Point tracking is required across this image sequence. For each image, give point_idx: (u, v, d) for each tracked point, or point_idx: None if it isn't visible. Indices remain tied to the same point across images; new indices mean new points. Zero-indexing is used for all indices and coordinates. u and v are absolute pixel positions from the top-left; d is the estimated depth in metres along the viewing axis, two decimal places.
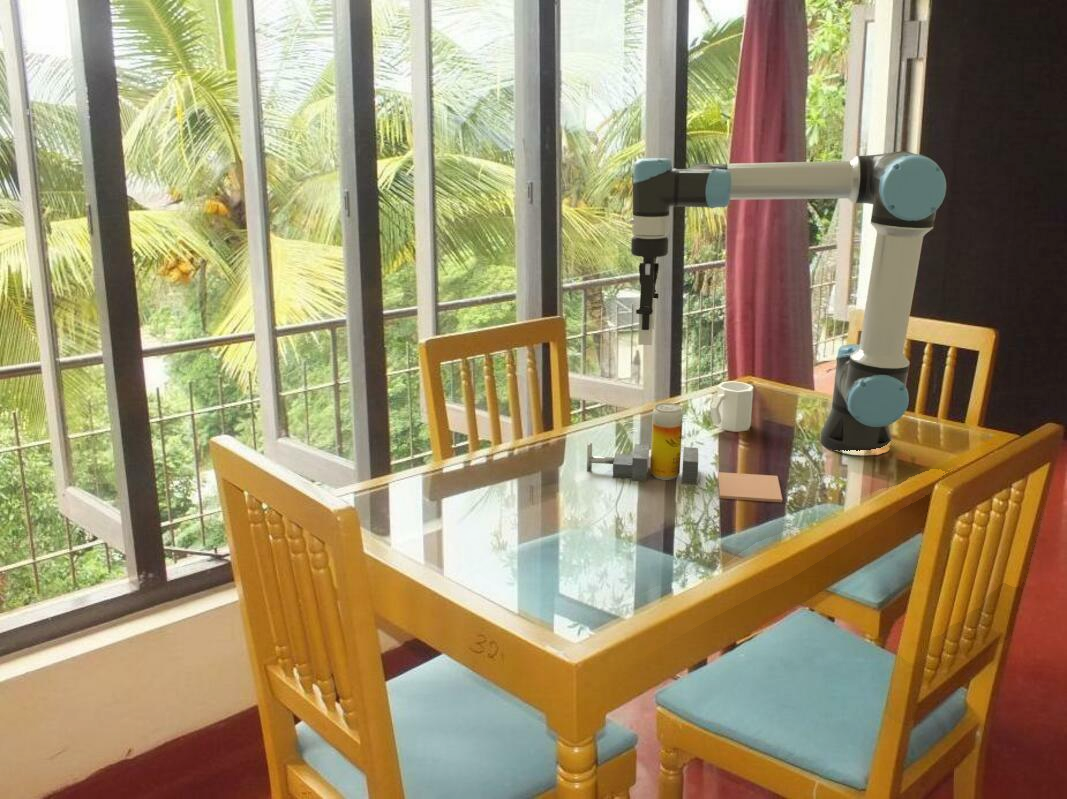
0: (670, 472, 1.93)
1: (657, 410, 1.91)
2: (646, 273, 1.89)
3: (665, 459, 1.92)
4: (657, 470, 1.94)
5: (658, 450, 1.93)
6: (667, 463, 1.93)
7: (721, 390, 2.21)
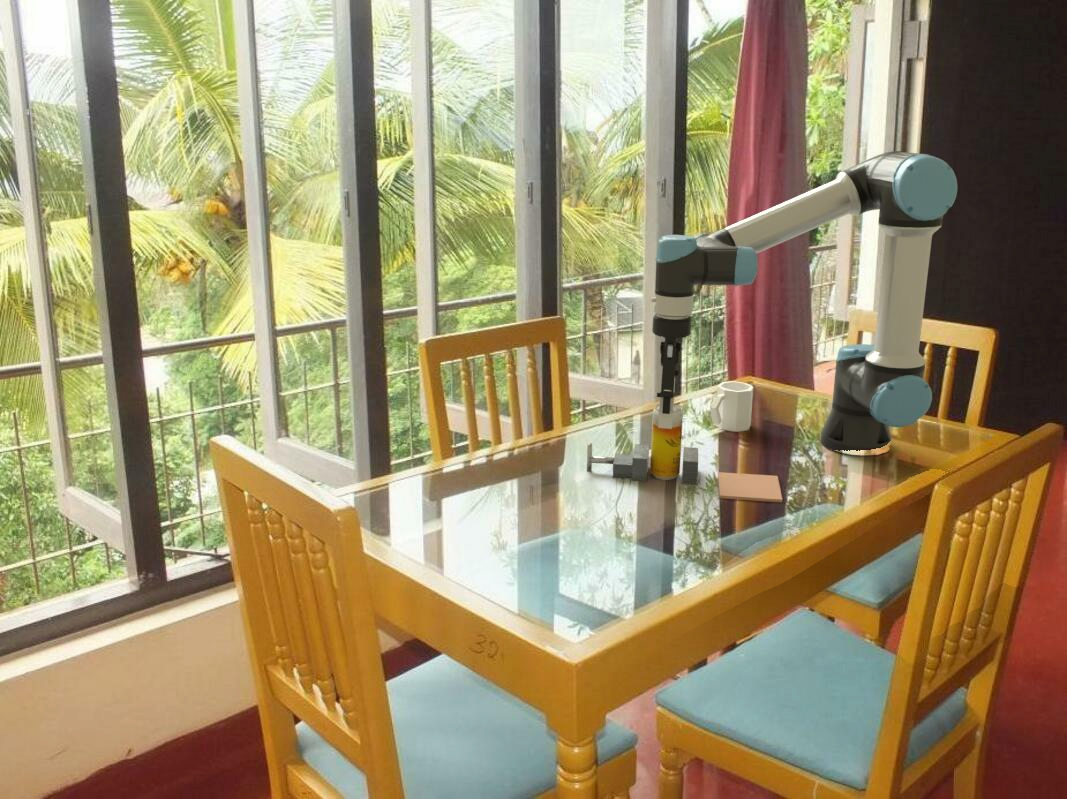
0: (670, 472, 1.93)
1: (657, 410, 1.91)
2: (668, 356, 1.82)
3: (665, 459, 1.92)
4: (657, 470, 1.94)
5: (658, 450, 1.93)
6: (667, 463, 1.93)
7: (721, 390, 2.21)
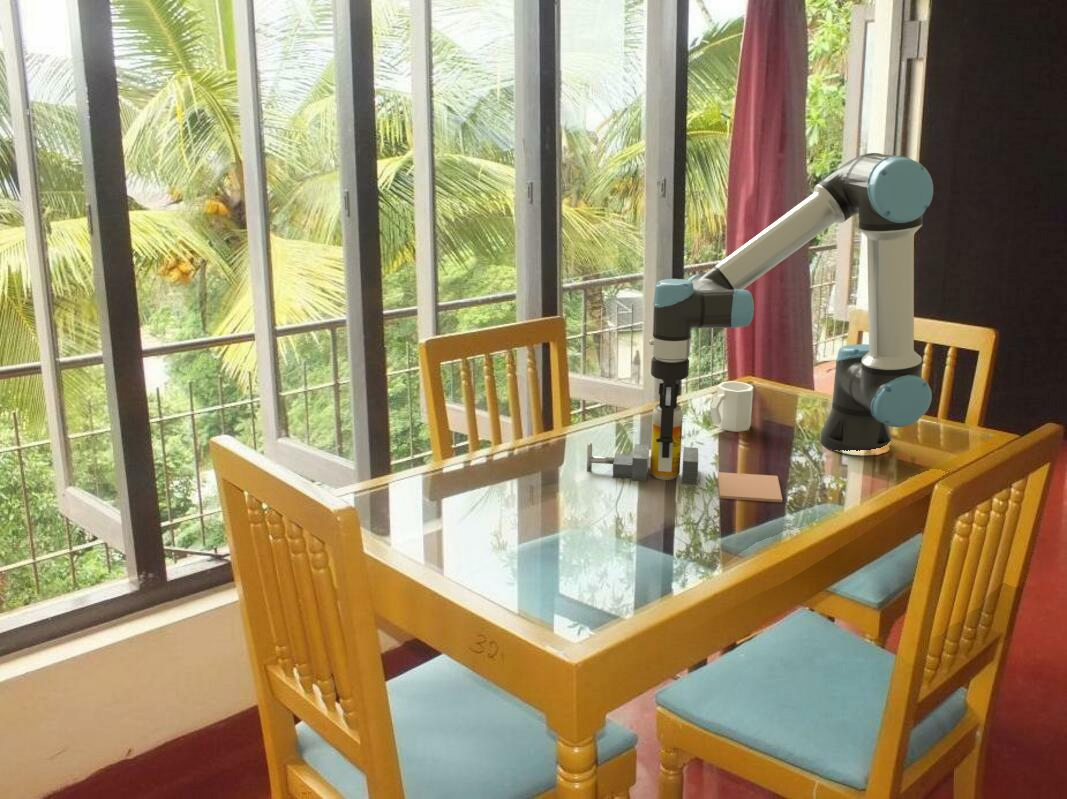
0: (670, 472, 1.93)
1: (657, 410, 1.91)
2: (666, 404, 1.85)
3: None
4: (657, 470, 1.94)
5: (658, 450, 1.93)
6: None
7: (721, 390, 2.21)
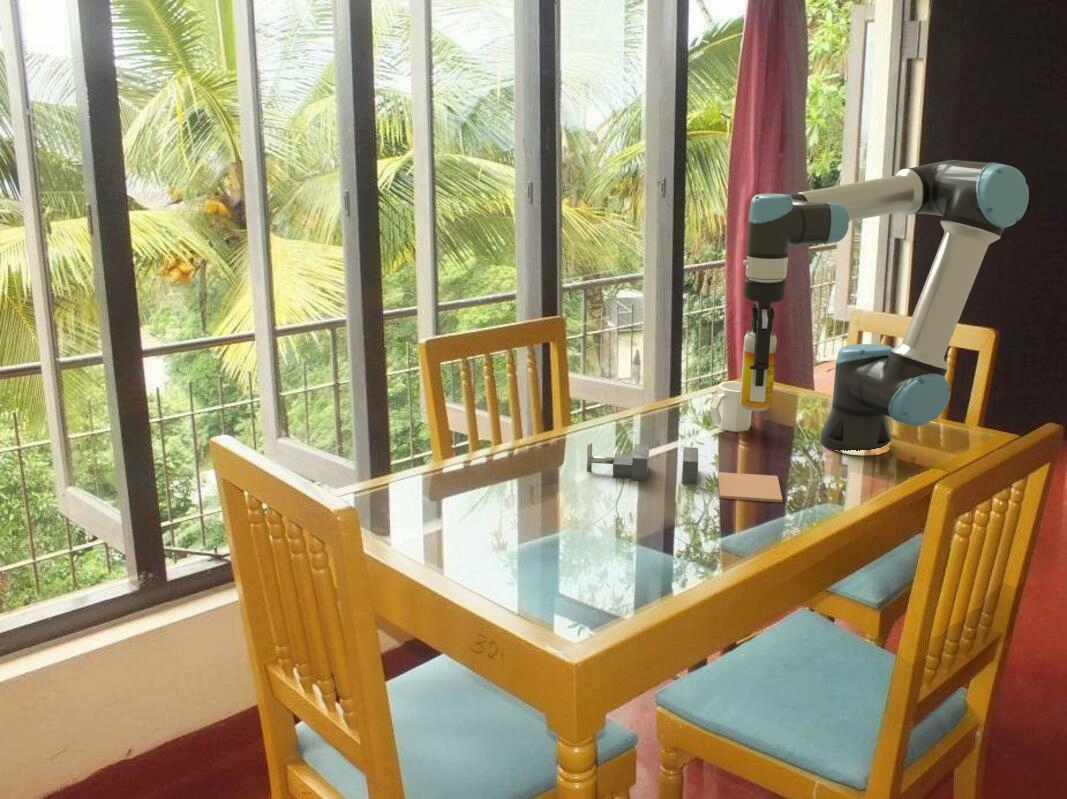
0: (762, 403, 1.82)
1: (750, 335, 1.79)
2: (763, 327, 1.74)
3: None
4: (748, 400, 1.82)
5: (750, 379, 1.81)
6: None
7: (721, 390, 2.21)
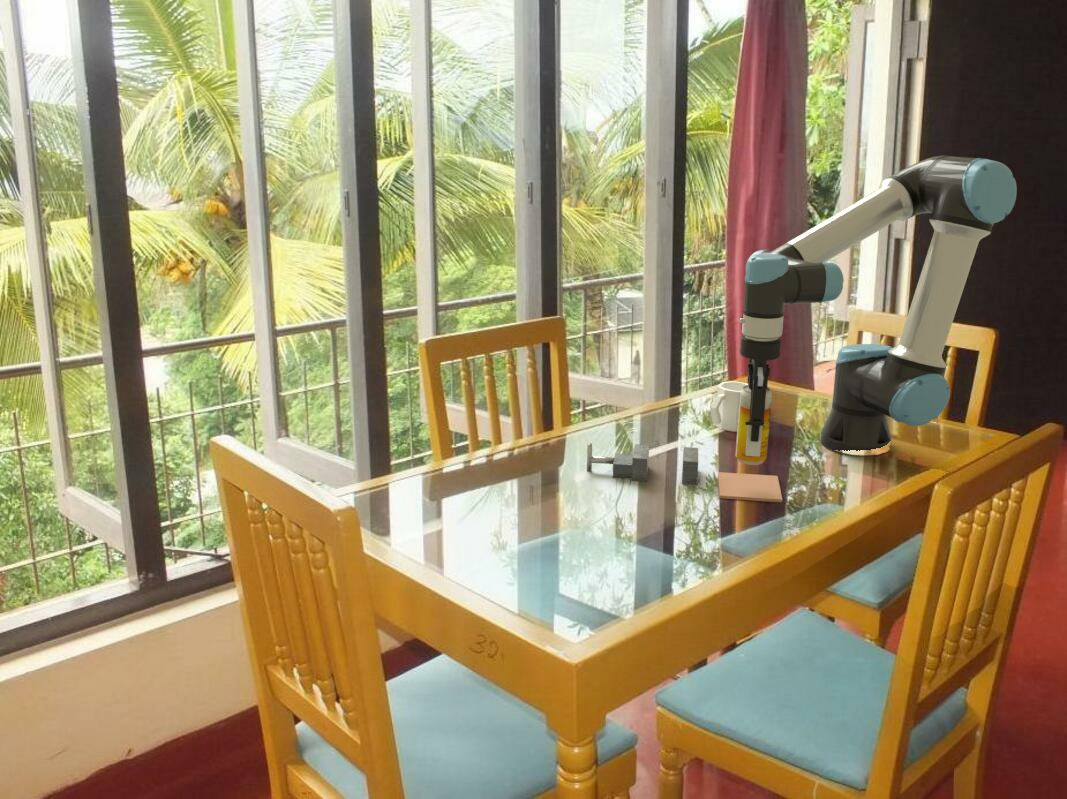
0: (757, 457, 1.85)
1: (746, 392, 1.83)
2: (758, 385, 1.77)
3: None
4: (743, 454, 1.86)
5: (745, 433, 1.84)
6: None
7: (721, 390, 2.21)
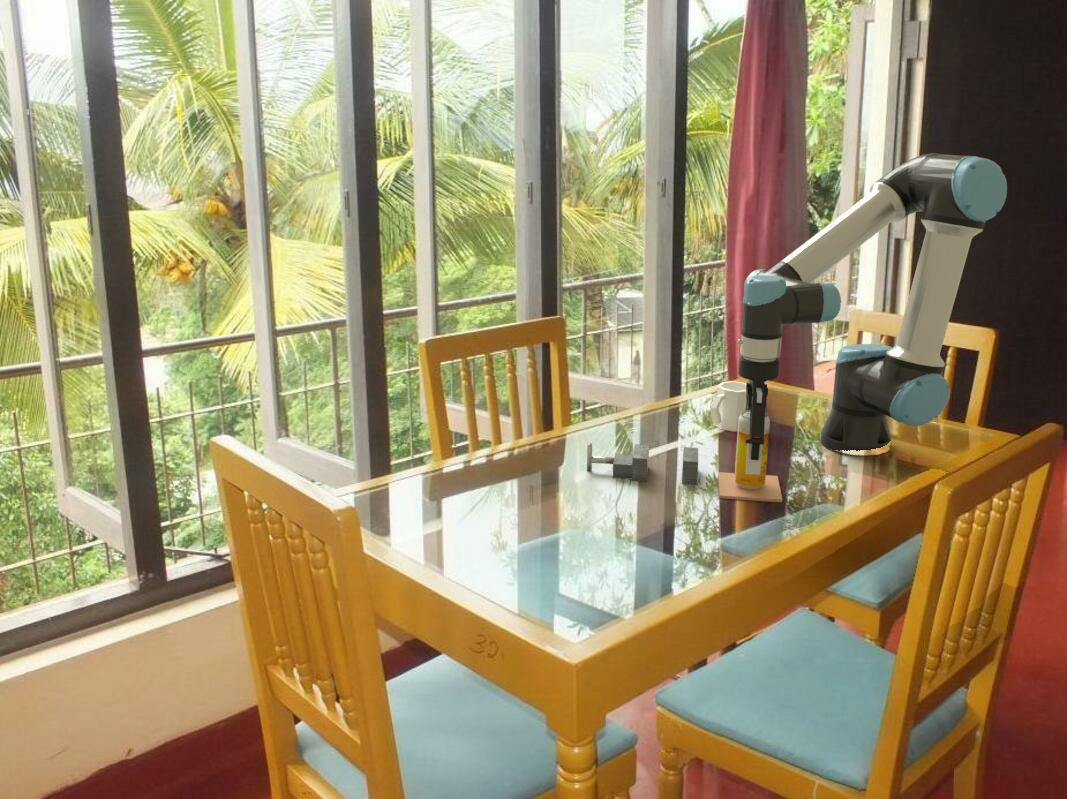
0: (756, 482, 1.87)
1: (744, 417, 1.85)
2: (758, 401, 1.78)
3: None
4: (742, 479, 1.87)
5: (744, 458, 1.86)
6: None
7: (721, 390, 2.21)
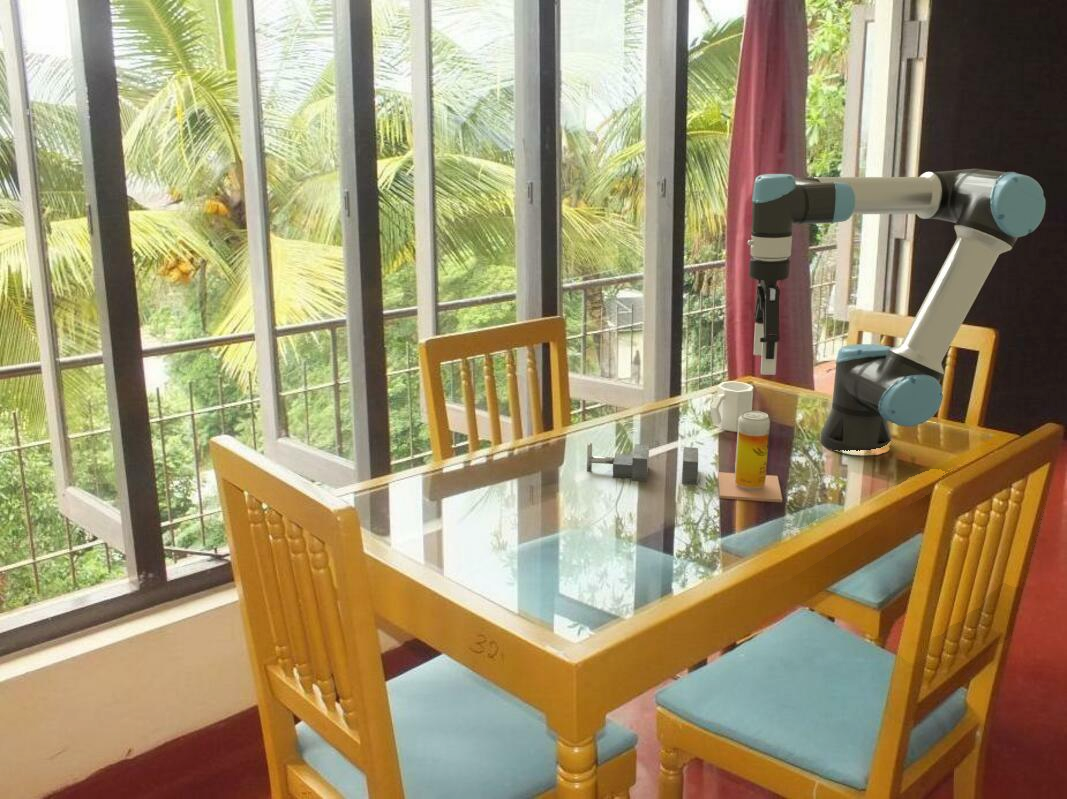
0: (756, 482, 1.87)
1: (744, 418, 1.84)
2: (771, 298, 1.76)
3: (751, 469, 1.86)
4: (742, 480, 1.87)
5: (744, 459, 1.86)
6: (753, 473, 1.86)
7: (721, 390, 2.21)
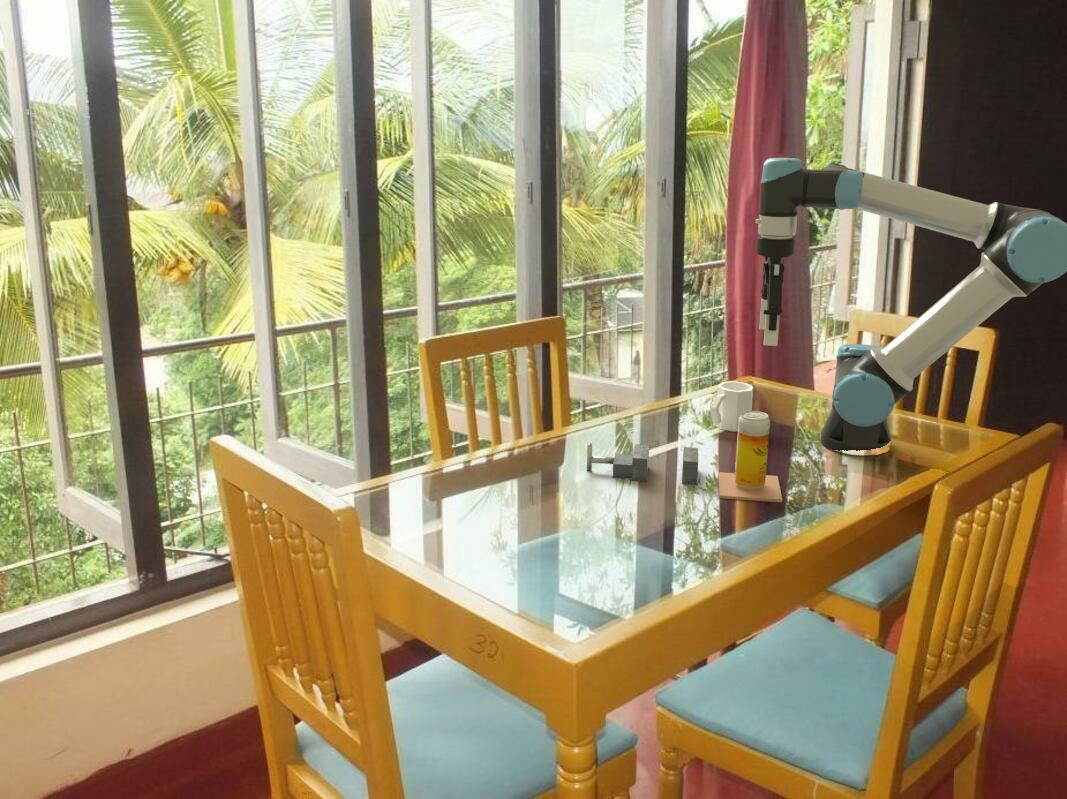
0: (756, 482, 1.87)
1: (744, 418, 1.84)
2: (775, 273, 1.88)
3: (751, 469, 1.86)
4: (742, 480, 1.87)
5: (744, 459, 1.86)
6: (753, 473, 1.86)
7: (721, 390, 2.21)
